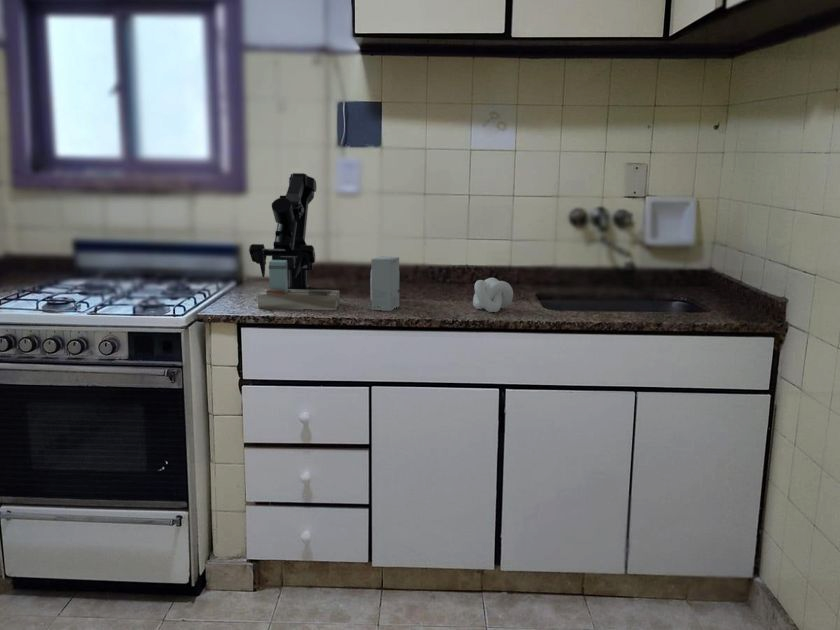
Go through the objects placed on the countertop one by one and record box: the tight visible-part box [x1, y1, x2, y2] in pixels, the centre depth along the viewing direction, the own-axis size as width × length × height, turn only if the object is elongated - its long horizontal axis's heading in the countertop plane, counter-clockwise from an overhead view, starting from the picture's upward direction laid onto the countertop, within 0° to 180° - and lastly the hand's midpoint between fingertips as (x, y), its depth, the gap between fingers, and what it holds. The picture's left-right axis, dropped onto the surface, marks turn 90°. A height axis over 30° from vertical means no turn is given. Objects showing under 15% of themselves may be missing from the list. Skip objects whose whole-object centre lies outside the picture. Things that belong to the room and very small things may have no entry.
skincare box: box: [370, 256, 400, 312], centre depth 219 cm, size 8×6×15 cm
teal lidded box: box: [268, 259, 289, 294], centre depth 220 cm, size 5×5×12 cm
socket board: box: [257, 288, 341, 311], centre depth 221 cm, size 10×22×5 cm, turn 89°
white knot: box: [472, 277, 514, 313], centre depth 219 cm, size 11×12×9 cm
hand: (278, 276), depth 220 cm, fingers open, 9 cm apart
